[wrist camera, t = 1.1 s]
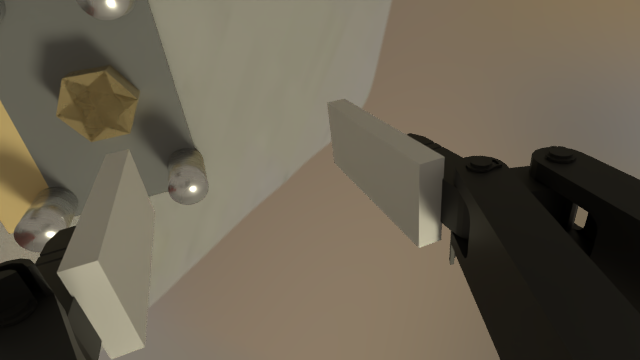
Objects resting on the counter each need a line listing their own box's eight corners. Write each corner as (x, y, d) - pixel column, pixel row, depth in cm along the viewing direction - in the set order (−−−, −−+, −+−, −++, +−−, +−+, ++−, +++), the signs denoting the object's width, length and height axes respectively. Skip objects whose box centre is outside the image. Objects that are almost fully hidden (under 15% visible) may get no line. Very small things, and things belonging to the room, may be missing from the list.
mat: (11, 230, 29) (9, 233, 28) (-150, -13, 21) (-155, -13, 20) (204, 179, 32) (204, 181, 32) (133, -45, 24) (132, -45, 24)
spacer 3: (174, 180, 32) (175, 209, 27) (163, 151, 30) (162, 176, 26) (207, 172, 32) (212, 198, 28) (198, 143, 31) (202, 165, 27)
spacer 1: (47, 220, 29) (26, 257, 25) (29, 190, 28) (4, 224, 24) (85, 209, 30) (71, 244, 26) (70, 180, 29) (52, 211, 24)
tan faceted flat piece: (78, 135, 27) (71, 146, 25) (50, 75, 25) (39, 82, 23) (150, 119, 28) (148, 129, 26) (129, 61, 26) (125, 66, 24)
